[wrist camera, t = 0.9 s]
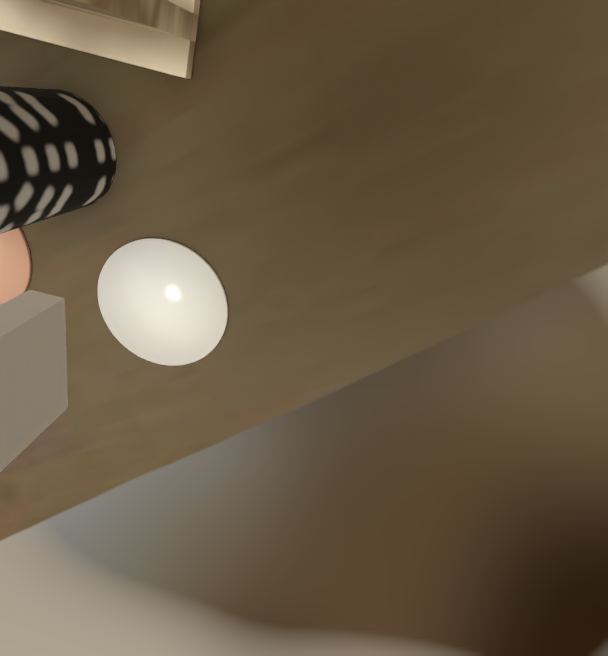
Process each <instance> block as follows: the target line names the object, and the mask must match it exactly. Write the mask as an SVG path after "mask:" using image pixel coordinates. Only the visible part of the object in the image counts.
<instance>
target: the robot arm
mask: <svg viewBox="0 0 608 656" xmlns="http://www.w3.org/2000/svg"><path fill="white" fill-rule="evenodd" d="M67 408H68V402H67V367H66V332H65V298H62V297H58V296H53V295H49V294H45V293H41V292H37V291H33V290H28V291H26V292H24V293H22V294H20V295H18V296H17V297H15V298H13V299H11V300H9V301H7V302H5V303H3V304H1V305H0V472H1V471H2V470H3V469H4V468H5V467H6V466H7V465H8V464H9V463H10V462H11V461H12V460H13V459H14V458H15V457H16V456H17V455H18V454H20V453H21V452H22V451H23V450H24V449H25V448H26V447H27V446H28V445H29V444H30V443H31V442H32V441H33V440H34V439H35V438H36V437H37V436H38V435H39V434H41V433H42V432H43V431H44V430H45V429H46V428H47V427H48V426H49V425H50V424H51V423H52V422H53V421H54V420H55V419H56V418H57V417H58V416H59V415H61V414H62V413H63V412H64V411H65V410H66V409H67Z"/></svg>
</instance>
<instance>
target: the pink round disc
mask: <svg viewBox="0 0 608 656" xmlns="http://www.w3.org/2000/svg"><path fill="white" fill-rule="evenodd" d="M31 273H32V260H31V254H30V249H29V246H28V243H27V240H26V238H25V236H24V233H23V231H22V230H21V228H17V229H13V230H10V231H7V232H4V233H1V234H0V305H1V304H3V303H5V302H7V301H9V300H11V299H13V298H15V297H17V296H18V295H20V294H22V293H24V292H26V290H27V288H28V286H29V283H30V279H31Z"/></svg>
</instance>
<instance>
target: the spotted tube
mask: <svg viewBox="0 0 608 656" xmlns="http://www.w3.org/2000/svg"><path fill="white" fill-rule="evenodd" d="M115 169H116V154H115V147H114V143H113V140H112V136H111V134H110V132H109V130H108V128H107V126H106V124H105V123H104V121H103V119H102V118H101V116H100V115H99V114H98V113H97V112H96V111H95V110H94V109H93V107H92V106H91V105H89V104H88V103H87V102H85V101H84V100H83V99H81V98H80V97H78V96H76V95H74V94H72V93H69V92H66V91H62V90H53V89H36V88H20V87H3V86H0V234H1V233H4V232H7V231H10V230H13V229H17V228H20V227H23V226H26V225H29V224H32V223H35V222H38V221H41V220H45V219H48V218H51V217H54V216H57V215H60V214H63V213H66V212H69V211H72V210H76V209H79V208H82V207H85V206H88V205H90V204H93V203H95V202H96V201H97V200H99V199H100V198H102V197H103V195H104V194H105V193H106V192H107V191H108V189H109V187H110V185H111V183H112V181H113V178H114V174H115Z"/></svg>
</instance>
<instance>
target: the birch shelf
mask: <svg viewBox="0 0 608 656" xmlns="http://www.w3.org/2000/svg"><path fill="white" fill-rule="evenodd" d="M200 1H201V0H0V30H3V31H7V32H11V33H15V34H19V35H23V36H26V37H30V38H34V39H38V40H42V41H45V42H49V43H53V44H57V45H61V46H64V47H68V48H72V49H76V50H80V51H84V52H87V53H91V54H95V55H99V56H103V57H106V58H110V59H114V60H118V61H122V62H125V63H129V64H133V65H137V66H141V67H145V68H148V69H152V70H156V71H160V72H164V73H167V74H171V75H175V76H179V77H183V78H187V79H191V75H192V67H193V58H194V50H195V42H196V34H197V26H198V18H199V9H200Z"/></svg>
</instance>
